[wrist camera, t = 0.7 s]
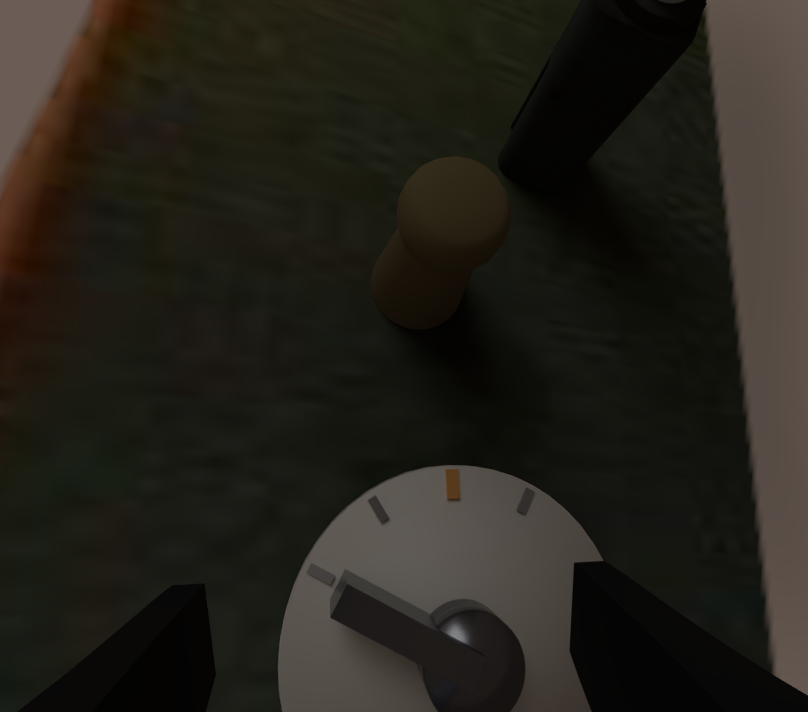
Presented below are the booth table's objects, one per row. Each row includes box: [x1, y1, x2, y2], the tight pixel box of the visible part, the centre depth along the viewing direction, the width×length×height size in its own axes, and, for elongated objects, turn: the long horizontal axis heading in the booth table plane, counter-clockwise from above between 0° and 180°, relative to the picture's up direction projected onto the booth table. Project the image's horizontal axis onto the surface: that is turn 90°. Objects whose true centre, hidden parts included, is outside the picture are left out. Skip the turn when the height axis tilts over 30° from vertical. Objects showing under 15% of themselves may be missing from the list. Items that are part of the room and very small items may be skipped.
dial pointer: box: [330, 569, 525, 712], centre depth 24 cm, size 10×5×3 cm, turn 62°
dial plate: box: [278, 465, 603, 712], centre depth 26 cm, size 19×19×2 cm
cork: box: [371, 156, 511, 330], centre depth 26 cm, size 6×6×11 cm
